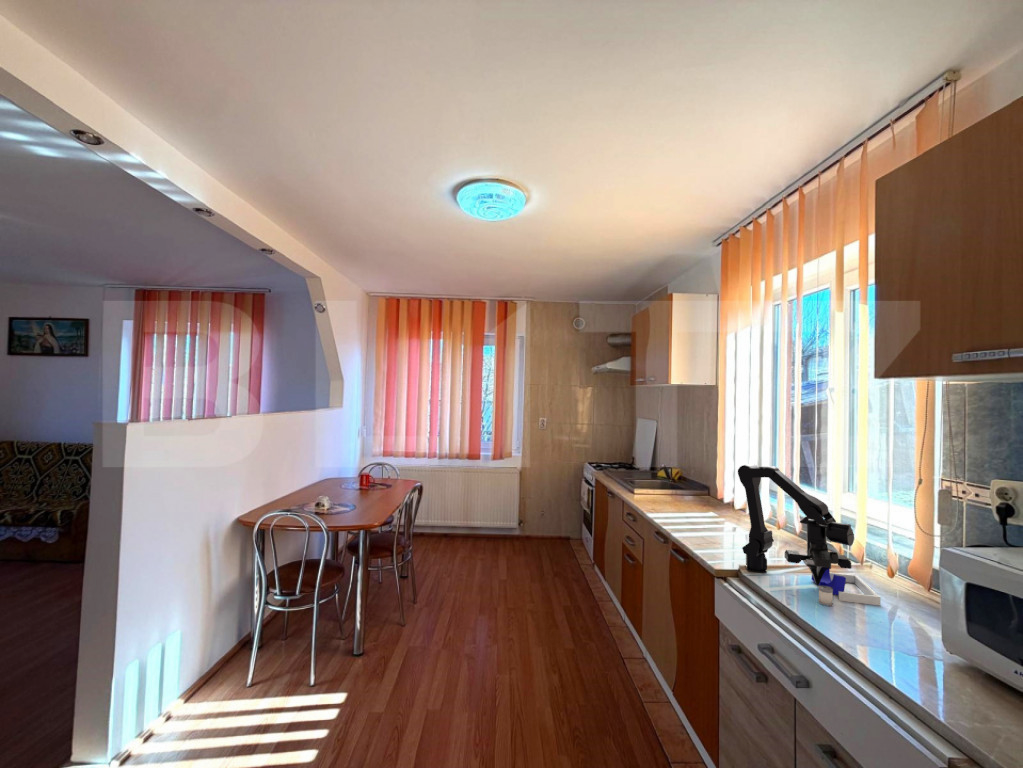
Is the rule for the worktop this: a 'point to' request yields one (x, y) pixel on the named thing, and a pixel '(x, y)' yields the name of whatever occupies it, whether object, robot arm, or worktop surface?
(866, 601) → the parts tray
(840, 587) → the cable clip
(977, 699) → the worktop surface
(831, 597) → the grey cylinder
